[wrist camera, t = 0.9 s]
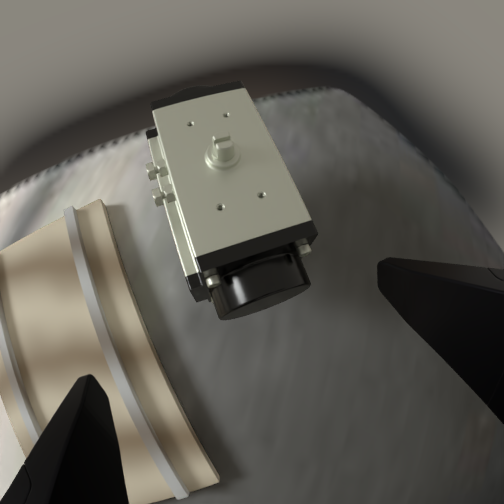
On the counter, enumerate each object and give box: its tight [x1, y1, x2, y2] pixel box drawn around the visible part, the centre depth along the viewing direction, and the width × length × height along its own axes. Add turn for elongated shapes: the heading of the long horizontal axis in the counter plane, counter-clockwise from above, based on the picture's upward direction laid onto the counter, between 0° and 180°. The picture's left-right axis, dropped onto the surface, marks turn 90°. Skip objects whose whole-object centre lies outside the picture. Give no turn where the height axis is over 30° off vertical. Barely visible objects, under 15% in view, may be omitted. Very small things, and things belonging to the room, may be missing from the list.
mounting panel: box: [0, 199, 220, 504], centre depth 18 cm, size 22×14×2 cm, turn 25°
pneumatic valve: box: [146, 81, 318, 320], centre depth 17 cm, size 6×12×12 cm, turn 20°
